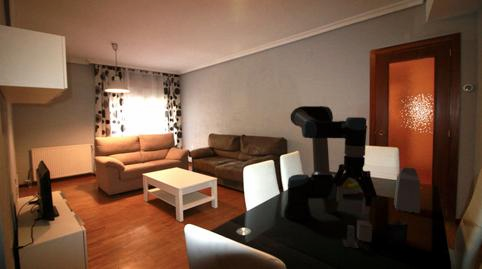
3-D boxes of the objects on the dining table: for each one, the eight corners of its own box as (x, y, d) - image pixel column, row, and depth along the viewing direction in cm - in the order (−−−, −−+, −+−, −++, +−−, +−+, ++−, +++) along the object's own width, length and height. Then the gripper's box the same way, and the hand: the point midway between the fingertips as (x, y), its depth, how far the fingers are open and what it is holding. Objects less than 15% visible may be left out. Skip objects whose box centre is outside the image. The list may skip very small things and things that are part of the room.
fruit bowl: (316, 189, 183) (317, 175, 182) (341, 185, 195) (342, 171, 194) (346, 201, 158) (347, 185, 157) (373, 195, 169) (374, 180, 168)
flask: (403, 240, 109) (405, 217, 108) (408, 243, 106) (410, 220, 105) (385, 240, 108) (386, 218, 107) (389, 244, 106) (391, 221, 105)
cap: (356, 235, 113) (357, 219, 113) (368, 236, 112) (369, 221, 111) (358, 240, 108) (359, 224, 108) (371, 242, 107) (372, 226, 106)
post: (342, 239, 109) (342, 222, 108) (356, 241, 107) (357, 224, 107) (344, 246, 103) (344, 228, 103) (358, 248, 102) (359, 230, 101)
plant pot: (343, 215, 135) (343, 196, 134) (321, 213, 138) (322, 195, 137) (338, 207, 147) (339, 190, 146) (319, 206, 149) (319, 188, 148)
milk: (395, 210, 144) (398, 168, 142) (393, 203, 154) (396, 164, 152) (420, 214, 138) (423, 170, 136) (416, 207, 148) (419, 166, 146)
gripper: (325, 151, 104) (323, 197, 106) (374, 162, 81) (371, 221, 83) (339, 150, 107) (336, 195, 109) (390, 161, 84) (386, 218, 86)
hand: (351, 206), depth 96 cm, fingers open, 13 cm apart
